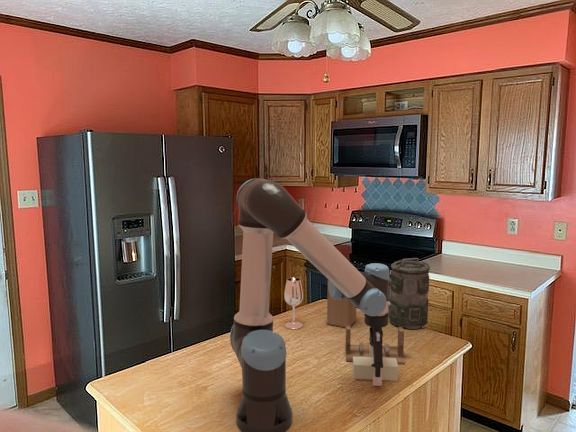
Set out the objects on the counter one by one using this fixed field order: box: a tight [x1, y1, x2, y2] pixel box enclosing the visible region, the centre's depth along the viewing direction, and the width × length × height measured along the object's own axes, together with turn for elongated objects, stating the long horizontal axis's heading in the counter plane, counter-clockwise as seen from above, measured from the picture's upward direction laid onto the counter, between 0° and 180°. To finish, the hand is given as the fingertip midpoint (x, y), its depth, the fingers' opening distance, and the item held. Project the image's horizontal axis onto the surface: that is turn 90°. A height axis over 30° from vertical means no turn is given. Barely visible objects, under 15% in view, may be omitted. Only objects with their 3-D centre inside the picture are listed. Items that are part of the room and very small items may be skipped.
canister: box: [388, 257, 431, 330], centre depth 189 cm, size 16×16×28 cm
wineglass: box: [283, 277, 304, 330], centre depth 187 cm, size 8×8×20 cm
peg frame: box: [344, 325, 406, 365], centre depth 161 cm, size 13×20×10 cm, turn 84°
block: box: [326, 278, 357, 329], centre depth 189 cm, size 10×10×20 cm
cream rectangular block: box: [352, 357, 400, 382], centre depth 146 cm, size 6×14×5 cm, turn 85°
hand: (375, 374), depth 147 cm, fingers open, 13 cm apart
